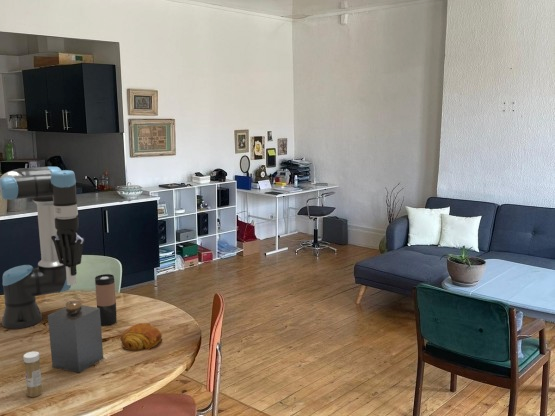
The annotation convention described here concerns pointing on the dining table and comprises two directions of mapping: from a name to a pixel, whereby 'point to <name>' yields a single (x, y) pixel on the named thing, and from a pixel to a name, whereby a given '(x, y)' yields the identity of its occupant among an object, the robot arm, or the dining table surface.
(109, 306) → the travel mug
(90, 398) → the dining table surface
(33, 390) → the sprinkles bottle
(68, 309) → the plunger
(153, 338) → the croissant
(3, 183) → the robot arm
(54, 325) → the grey peg holder block
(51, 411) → the dining table surface
